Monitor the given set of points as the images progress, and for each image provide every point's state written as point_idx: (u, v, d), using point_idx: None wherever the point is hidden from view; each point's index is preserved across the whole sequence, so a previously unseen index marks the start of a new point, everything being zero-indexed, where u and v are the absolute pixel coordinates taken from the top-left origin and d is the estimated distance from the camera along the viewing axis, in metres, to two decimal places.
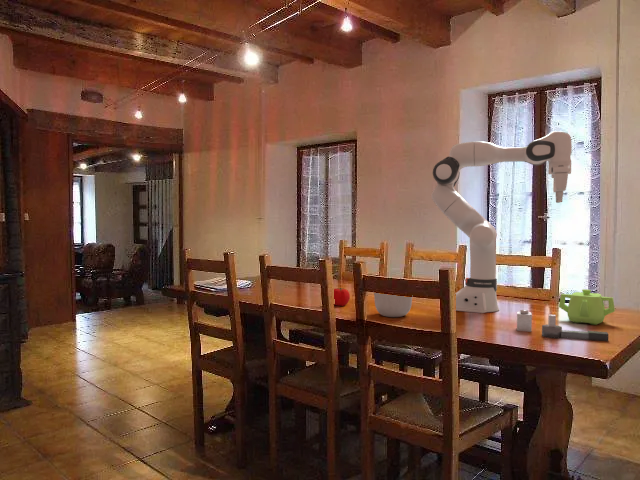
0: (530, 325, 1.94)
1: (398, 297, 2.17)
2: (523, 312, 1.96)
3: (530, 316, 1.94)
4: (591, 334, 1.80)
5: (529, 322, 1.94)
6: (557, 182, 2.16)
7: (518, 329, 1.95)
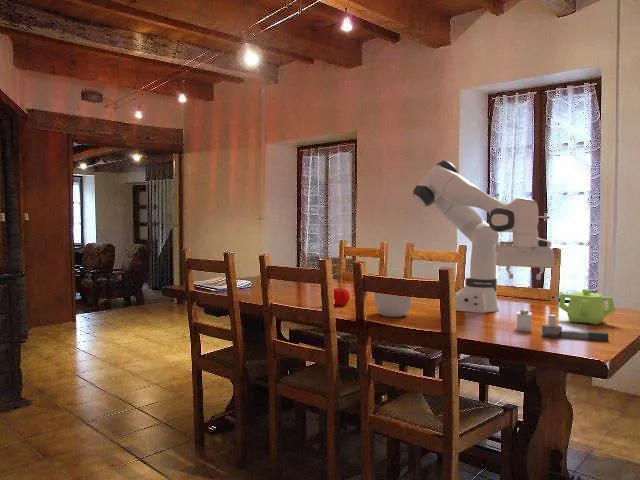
0: (530, 325, 1.94)
1: (398, 297, 2.17)
2: (523, 312, 1.96)
3: (530, 316, 1.94)
4: (591, 334, 1.80)
5: (529, 322, 1.94)
6: None
7: (518, 329, 1.95)
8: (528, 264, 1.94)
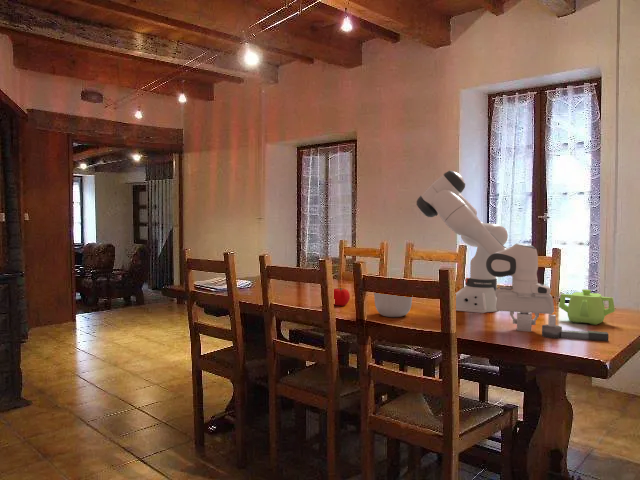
0: (530, 325, 1.94)
1: (398, 297, 2.17)
2: (523, 312, 1.96)
3: (530, 316, 1.94)
4: (591, 334, 1.80)
5: (529, 322, 1.94)
6: (553, 305, 1.92)
7: (518, 329, 1.95)
8: (528, 310, 1.95)
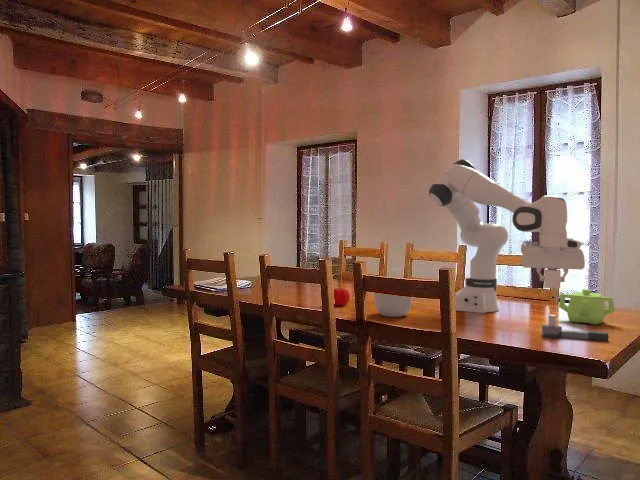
0: (559, 282, 1.82)
1: (398, 297, 2.17)
2: None
3: (559, 272, 1.82)
4: (591, 334, 1.80)
5: (558, 278, 1.82)
6: None
7: (546, 286, 1.84)
8: (556, 266, 1.83)
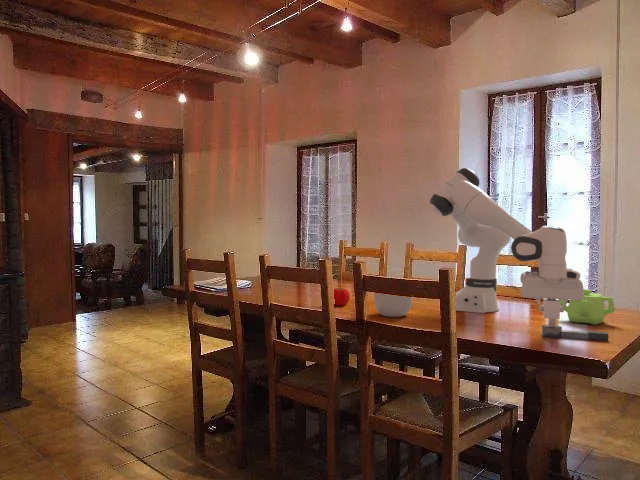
0: (558, 312, 1.83)
1: (398, 297, 2.17)
2: None
3: (558, 303, 1.83)
4: (591, 334, 1.80)
5: (557, 309, 1.83)
6: (583, 290, 1.81)
7: (545, 316, 1.84)
8: (555, 296, 1.84)
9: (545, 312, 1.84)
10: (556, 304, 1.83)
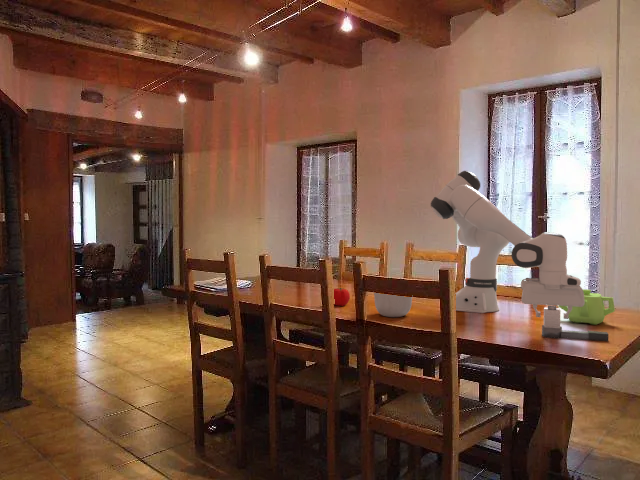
0: (559, 321, 1.83)
1: (398, 297, 2.17)
2: (551, 308, 1.85)
3: (559, 312, 1.83)
4: (591, 334, 1.80)
5: (558, 318, 1.83)
6: None
7: (546, 326, 1.84)
8: (556, 303, 1.84)
9: (546, 321, 1.84)
10: (557, 313, 1.83)
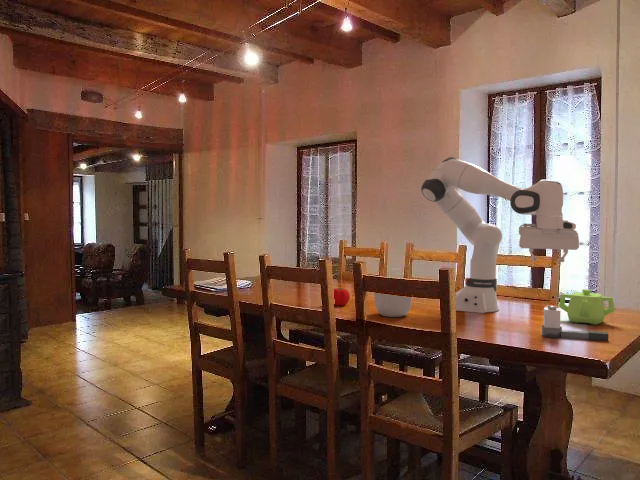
0: (559, 321, 1.83)
1: (398, 297, 2.17)
2: (551, 308, 1.85)
3: (559, 312, 1.83)
4: (591, 334, 1.80)
5: (558, 318, 1.83)
6: (578, 240, 1.90)
7: (546, 326, 1.84)
8: (552, 246, 1.93)
9: (546, 321, 1.84)
10: (557, 313, 1.83)
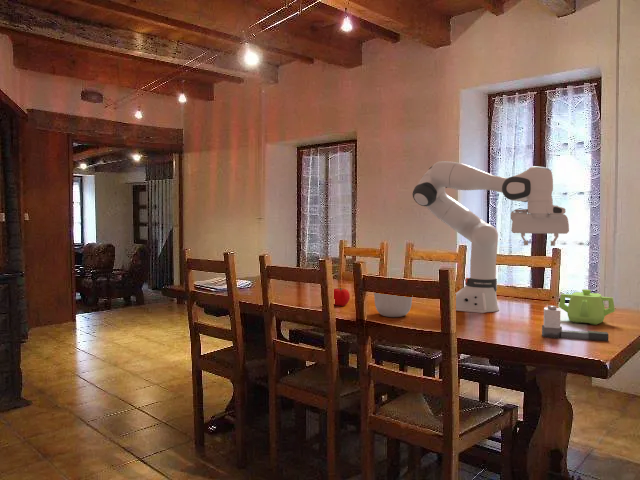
0: (559, 321, 1.83)
1: (398, 297, 2.17)
2: (551, 308, 1.85)
3: (559, 312, 1.83)
4: (591, 334, 1.80)
5: (558, 318, 1.83)
6: (568, 224, 1.96)
7: (546, 326, 1.84)
8: (543, 231, 1.99)
9: (546, 321, 1.84)
10: (557, 313, 1.83)
